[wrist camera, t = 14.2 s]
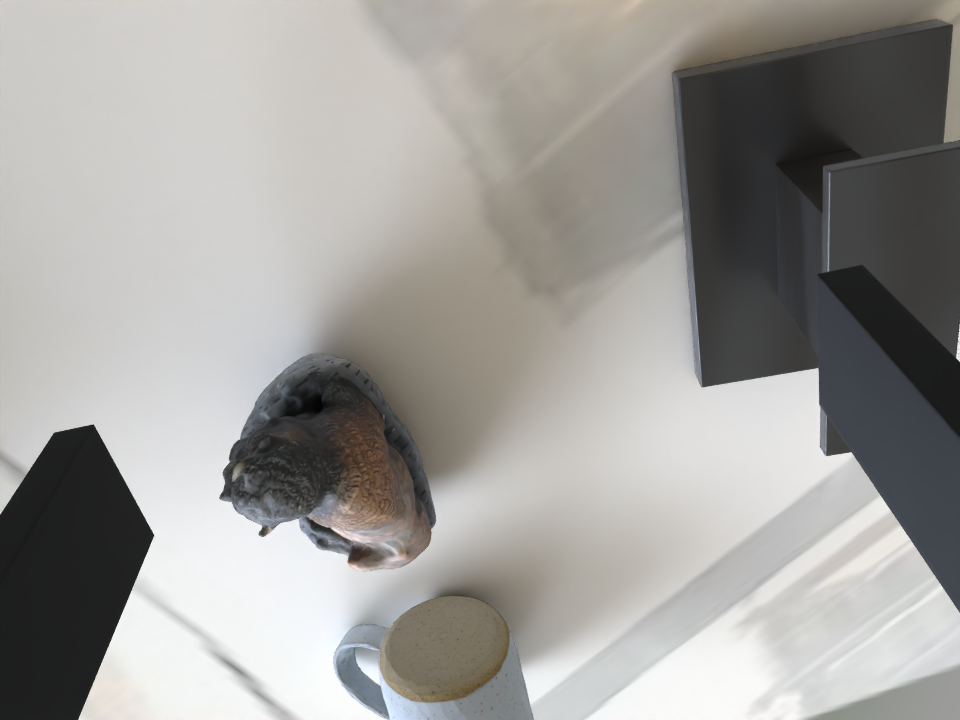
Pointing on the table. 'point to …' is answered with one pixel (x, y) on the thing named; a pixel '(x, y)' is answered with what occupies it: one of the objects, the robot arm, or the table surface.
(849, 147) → the stand
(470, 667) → the ceramic mug
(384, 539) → the brown animal-shaped figure
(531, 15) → the table surface
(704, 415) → the table surface
